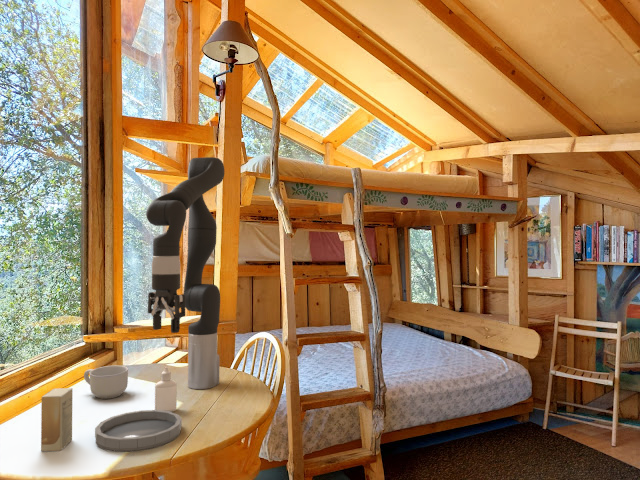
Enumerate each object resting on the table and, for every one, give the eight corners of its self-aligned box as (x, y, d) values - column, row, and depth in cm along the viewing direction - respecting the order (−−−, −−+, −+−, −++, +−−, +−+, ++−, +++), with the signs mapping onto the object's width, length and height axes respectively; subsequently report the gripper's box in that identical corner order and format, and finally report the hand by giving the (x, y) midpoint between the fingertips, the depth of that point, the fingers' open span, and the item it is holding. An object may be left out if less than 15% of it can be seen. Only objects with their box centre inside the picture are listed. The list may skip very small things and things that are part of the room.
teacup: (135, 393, 147) (135, 367, 148) (106, 403, 138) (107, 375, 138) (103, 387, 153) (103, 362, 153) (73, 397, 143) (73, 370, 144)
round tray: (152, 415, 127) (152, 405, 127) (196, 432, 116) (196, 421, 116) (80, 437, 112) (80, 425, 112) (123, 459, 101) (123, 446, 101)
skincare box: (53, 440, 111) (54, 387, 111) (72, 440, 111) (73, 387, 111) (39, 452, 104) (40, 396, 105) (60, 451, 105) (61, 395, 105)
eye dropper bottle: (172, 414, 129) (172, 369, 129) (152, 413, 129) (152, 369, 129) (178, 408, 133) (178, 365, 133) (159, 408, 134) (159, 365, 134)
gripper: (193, 272, 130) (193, 332, 130) (163, 271, 139) (162, 326, 139) (169, 273, 125) (169, 336, 124) (139, 272, 133) (139, 330, 133)
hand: (165, 331), depth 132 cm, fingers open, 8 cm apart
